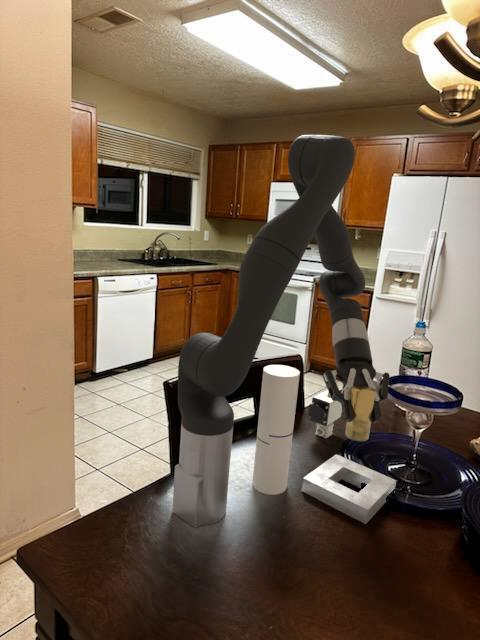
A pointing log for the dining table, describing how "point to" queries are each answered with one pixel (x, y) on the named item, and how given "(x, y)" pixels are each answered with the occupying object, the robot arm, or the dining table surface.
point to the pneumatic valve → (324, 413)
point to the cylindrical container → (275, 428)
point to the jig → (343, 498)
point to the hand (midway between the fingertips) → (363, 420)
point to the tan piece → (360, 412)
